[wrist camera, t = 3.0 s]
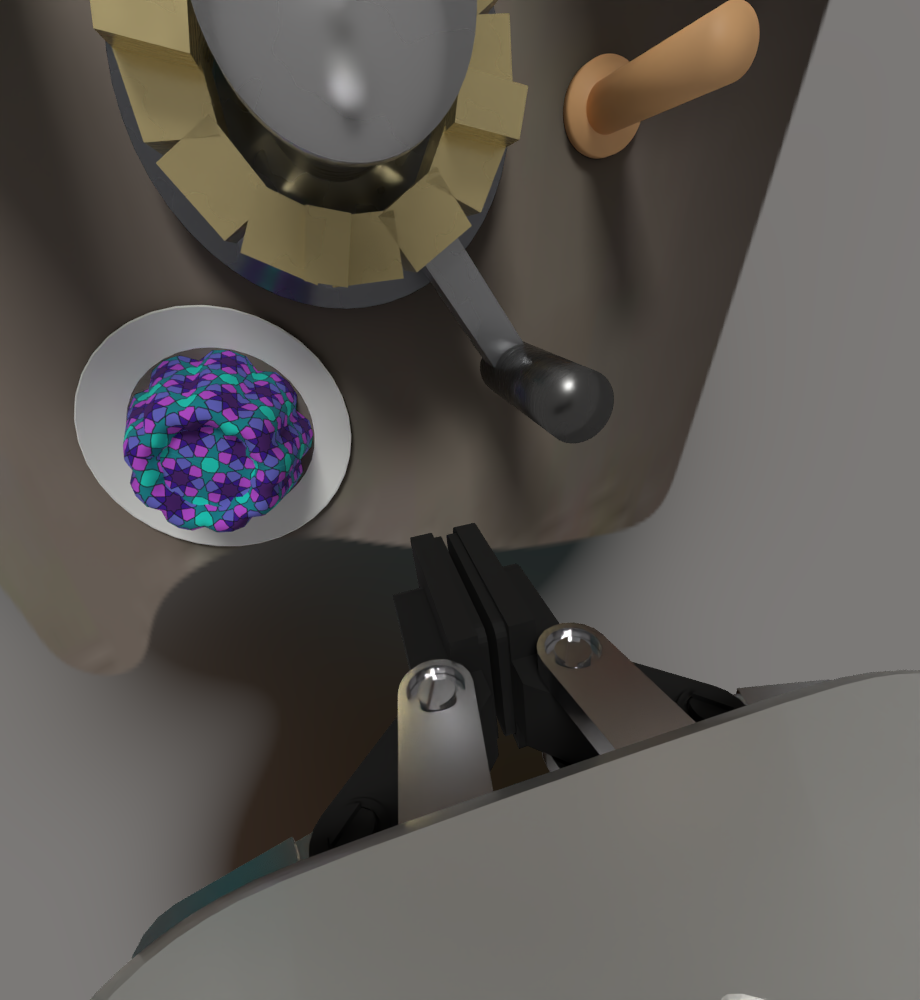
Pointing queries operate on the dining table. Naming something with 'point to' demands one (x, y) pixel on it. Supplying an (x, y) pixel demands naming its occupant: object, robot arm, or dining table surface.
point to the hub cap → (326, 114)
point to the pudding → (211, 426)
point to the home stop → (658, 78)
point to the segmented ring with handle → (365, 236)
